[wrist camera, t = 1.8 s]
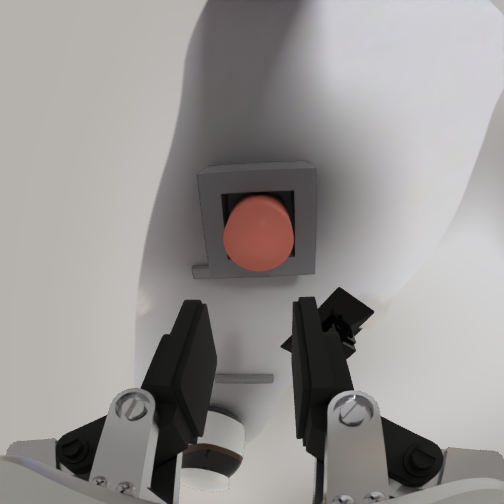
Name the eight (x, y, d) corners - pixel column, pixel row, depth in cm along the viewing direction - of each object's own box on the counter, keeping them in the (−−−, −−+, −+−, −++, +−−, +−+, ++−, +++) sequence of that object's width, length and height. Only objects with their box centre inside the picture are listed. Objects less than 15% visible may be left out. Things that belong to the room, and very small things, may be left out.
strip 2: (215, 374, 33) (214, 377, 32) (272, 374, 32) (272, 378, 32) (216, 379, 33) (215, 382, 33) (272, 379, 33) (273, 383, 32)
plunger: (228, 192, 21) (219, 208, 17) (288, 190, 20) (293, 204, 17) (233, 247, 23) (226, 272, 19) (289, 245, 22) (294, 269, 19)
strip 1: (193, 266, 26) (191, 269, 26) (269, 263, 26) (269, 266, 25) (194, 275, 27) (193, 278, 26) (269, 273, 26) (269, 276, 26)
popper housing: (208, 166, 22) (197, 174, 19) (307, 160, 22) (316, 168, 18) (218, 255, 26) (210, 277, 22) (308, 252, 25) (314, 274, 22)
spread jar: (212, 395, 35) (199, 470, 24) (272, 425, 38) (271, 492, 27) (168, 420, 39) (152, 480, 28) (223, 446, 42) (216, 501, 31)
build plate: (312, 370, 33) (315, 399, 28) (264, 346, 31) (263, 377, 27) (387, 302, 28) (401, 330, 24) (340, 267, 26) (351, 295, 22)
